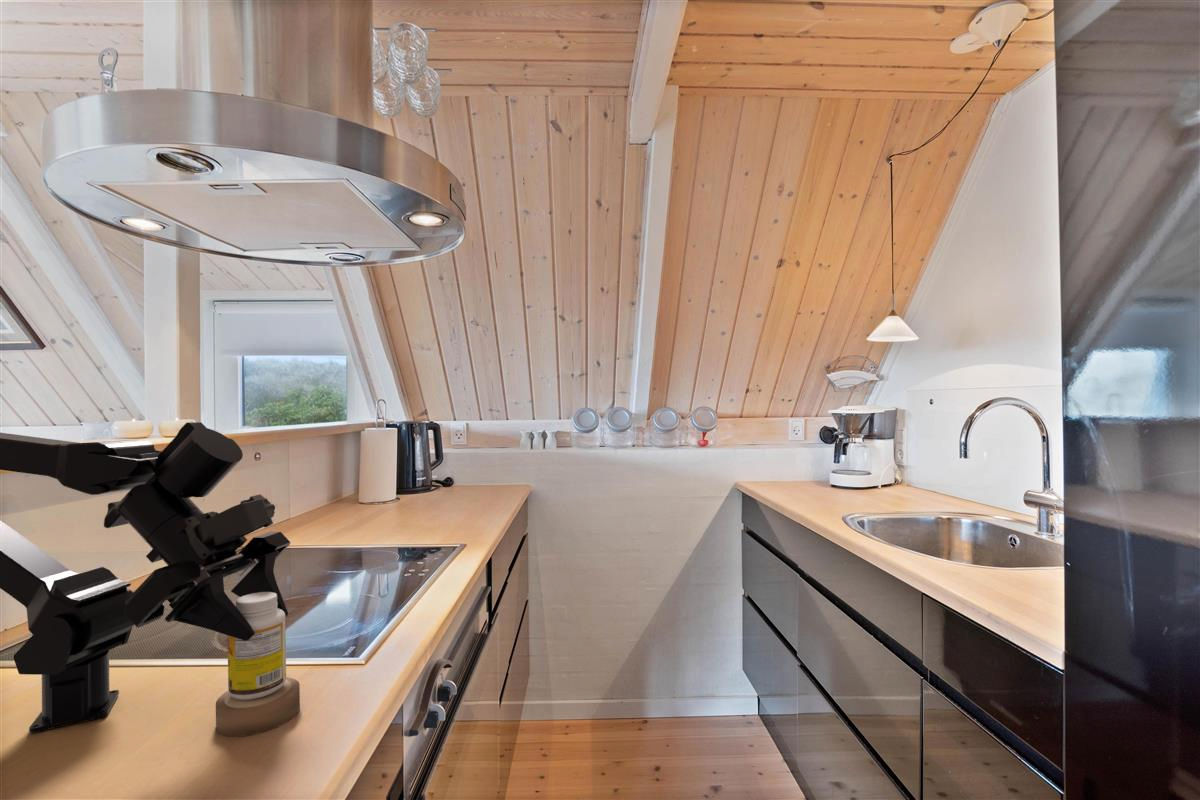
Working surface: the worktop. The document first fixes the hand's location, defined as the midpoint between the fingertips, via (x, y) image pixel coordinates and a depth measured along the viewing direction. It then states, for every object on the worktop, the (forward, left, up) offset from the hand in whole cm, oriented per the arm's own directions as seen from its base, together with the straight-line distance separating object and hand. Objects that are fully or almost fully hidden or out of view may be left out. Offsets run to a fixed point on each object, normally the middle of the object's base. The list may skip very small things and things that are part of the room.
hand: (268, 627), depth 65 cm
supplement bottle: (-1, -1, -7) cm, 7 cm away
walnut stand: (-1, -1, -10) cm, 10 cm away
